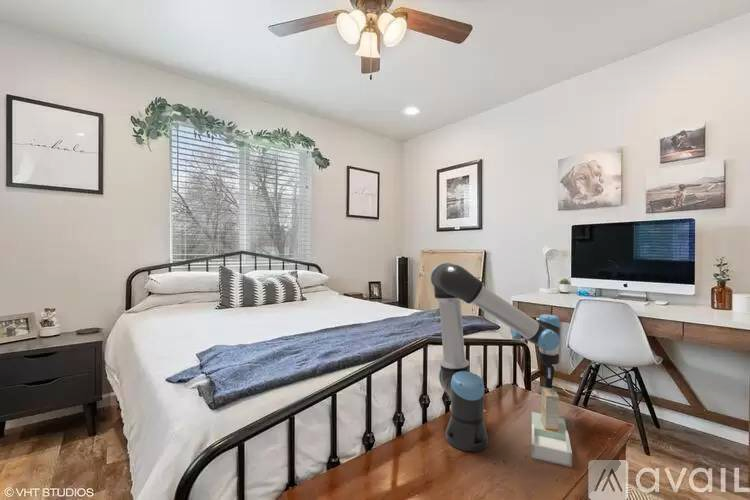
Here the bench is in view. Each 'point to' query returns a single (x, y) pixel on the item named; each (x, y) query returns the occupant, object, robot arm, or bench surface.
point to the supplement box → (550, 409)
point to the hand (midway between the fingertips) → (547, 409)
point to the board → (541, 430)
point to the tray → (552, 449)
